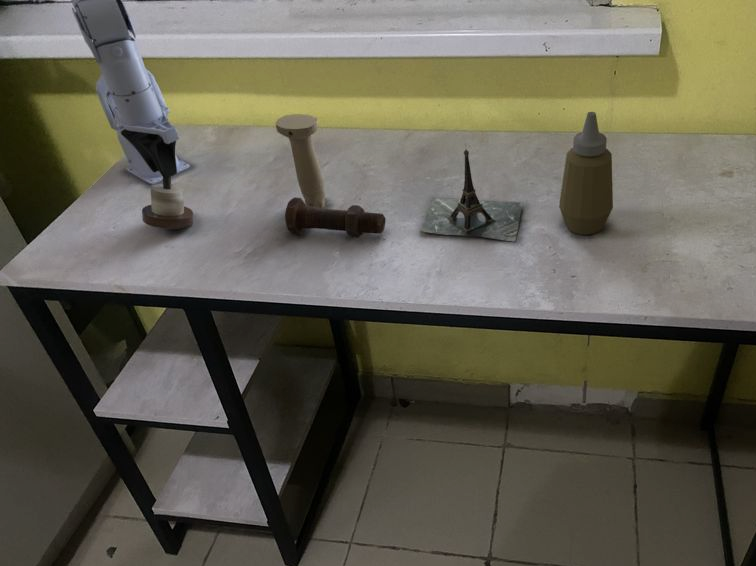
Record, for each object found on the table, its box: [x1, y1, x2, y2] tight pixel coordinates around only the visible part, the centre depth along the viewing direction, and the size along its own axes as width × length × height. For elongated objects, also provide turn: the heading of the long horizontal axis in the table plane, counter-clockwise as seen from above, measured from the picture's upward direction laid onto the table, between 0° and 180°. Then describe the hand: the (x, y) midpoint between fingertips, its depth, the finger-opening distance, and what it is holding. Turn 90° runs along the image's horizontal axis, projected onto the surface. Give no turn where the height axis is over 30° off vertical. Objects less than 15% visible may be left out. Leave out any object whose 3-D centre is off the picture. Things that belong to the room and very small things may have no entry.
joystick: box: [141, 157, 194, 230], centre depth 112 cm, size 11×8×8 cm
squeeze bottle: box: [558, 111, 614, 236], centre depth 103 cm, size 8×8×18 cm
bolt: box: [284, 197, 387, 239], centre depth 110 cm, size 6×5×15 cm
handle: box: [274, 113, 327, 209], centre depth 113 cm, size 5×6×15 cm
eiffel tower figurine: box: [419, 143, 524, 242], centre depth 107 cm, size 15×10×13 cm
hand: (164, 172), depth 111 cm, fingers closed on joystick, 3 cm apart
